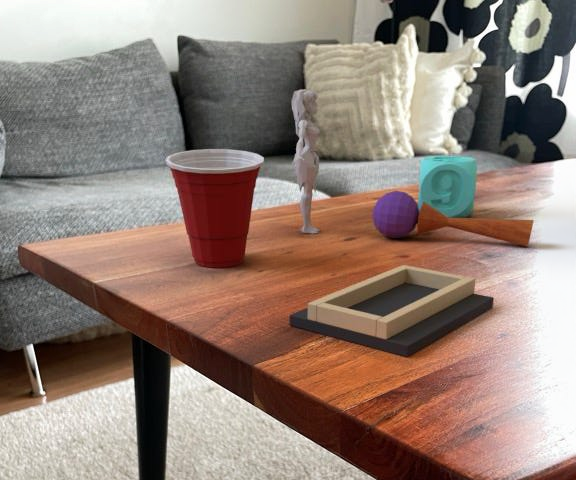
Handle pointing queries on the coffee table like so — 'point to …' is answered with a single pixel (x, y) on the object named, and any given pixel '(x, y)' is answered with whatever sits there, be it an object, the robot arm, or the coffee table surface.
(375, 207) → the kendama
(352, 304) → the stand pad
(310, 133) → the human figurine
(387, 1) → the robot arm
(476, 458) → the coffee table surface
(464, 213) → the decorative dice
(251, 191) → the plastic cup
